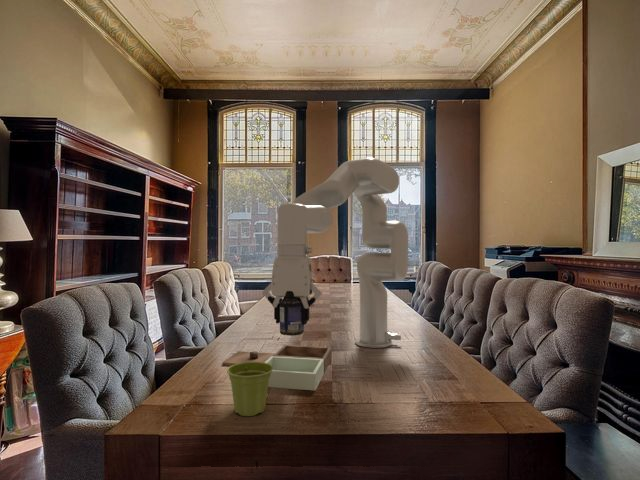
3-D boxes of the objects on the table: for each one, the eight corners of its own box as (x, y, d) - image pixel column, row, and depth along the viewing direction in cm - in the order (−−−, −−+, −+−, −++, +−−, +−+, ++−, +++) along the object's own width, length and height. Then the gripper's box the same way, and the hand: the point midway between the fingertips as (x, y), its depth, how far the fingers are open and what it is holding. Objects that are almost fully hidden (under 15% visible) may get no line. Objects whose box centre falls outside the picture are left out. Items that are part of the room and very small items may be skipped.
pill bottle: (307, 331, 97) (307, 289, 97) (298, 337, 91) (298, 291, 92) (285, 329, 99) (285, 288, 99) (275, 335, 93) (275, 290, 94)
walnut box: (331, 359, 113) (331, 347, 113) (324, 372, 101) (324, 358, 101) (284, 356, 115) (284, 345, 115) (272, 368, 104) (272, 356, 104)
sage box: (323, 374, 100) (323, 359, 100) (315, 390, 88) (315, 373, 88) (271, 370, 102) (271, 356, 102) (256, 386, 91) (256, 370, 91)
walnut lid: (283, 356, 115) (283, 348, 115) (271, 368, 104) (271, 359, 104) (238, 353, 118) (238, 346, 118) (222, 365, 107) (222, 356, 107)
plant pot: (230, 401, 82) (230, 361, 82) (273, 400, 83) (273, 360, 83) (222, 421, 73) (223, 376, 73) (271, 420, 73) (272, 375, 74)
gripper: (327, 252, 98) (327, 321, 98) (264, 251, 101) (264, 318, 101) (322, 252, 90) (322, 327, 90) (254, 252, 94) (254, 324, 93)
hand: (291, 322), depth 95 cm, fingers closed on pill bottle, 6 cm apart
